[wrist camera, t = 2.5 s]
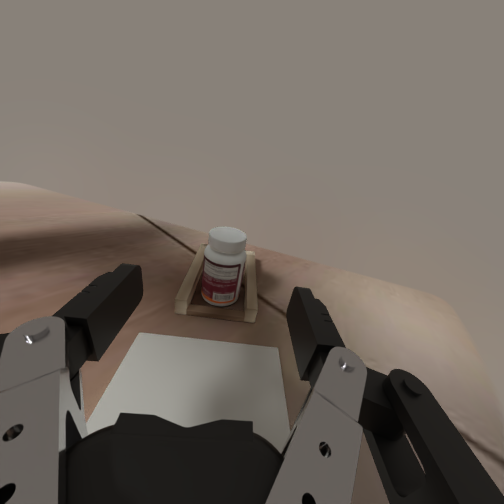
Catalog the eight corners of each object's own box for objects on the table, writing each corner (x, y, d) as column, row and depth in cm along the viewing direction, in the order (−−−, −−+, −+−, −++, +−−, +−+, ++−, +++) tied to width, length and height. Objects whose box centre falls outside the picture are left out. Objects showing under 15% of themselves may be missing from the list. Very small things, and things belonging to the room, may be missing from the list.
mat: (39, 508, 10) (37, 507, 9) (139, 334, 18) (139, 332, 18) (300, 515, 11) (302, 514, 11) (277, 349, 20) (277, 347, 20)
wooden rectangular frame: (174, 313, 21) (174, 298, 20) (200, 254, 33) (201, 243, 32) (254, 323, 22) (258, 309, 21) (252, 262, 34) (254, 252, 33)
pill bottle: (216, 278, 28) (223, 221, 24) (245, 292, 26) (257, 234, 23) (192, 295, 24) (195, 231, 20) (224, 314, 22) (235, 248, 19)
